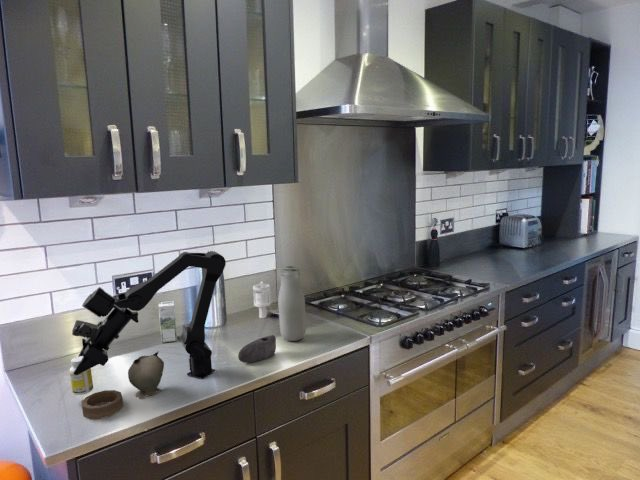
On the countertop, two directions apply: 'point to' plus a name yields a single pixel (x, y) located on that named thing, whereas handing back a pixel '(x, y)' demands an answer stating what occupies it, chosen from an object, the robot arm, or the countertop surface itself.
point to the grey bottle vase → (291, 305)
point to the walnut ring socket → (103, 410)
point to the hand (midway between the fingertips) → (74, 370)
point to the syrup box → (167, 321)
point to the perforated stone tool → (258, 349)
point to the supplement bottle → (80, 378)
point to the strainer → (261, 298)
